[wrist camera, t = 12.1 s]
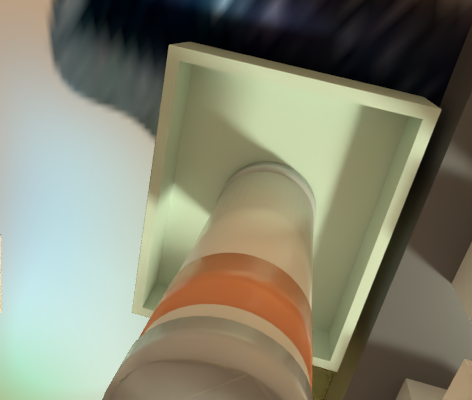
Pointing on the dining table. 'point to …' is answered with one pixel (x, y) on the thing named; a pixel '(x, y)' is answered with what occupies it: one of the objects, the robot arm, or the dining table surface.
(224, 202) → the marked fuse
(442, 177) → the block
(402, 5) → the dining table surface
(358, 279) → the tray
